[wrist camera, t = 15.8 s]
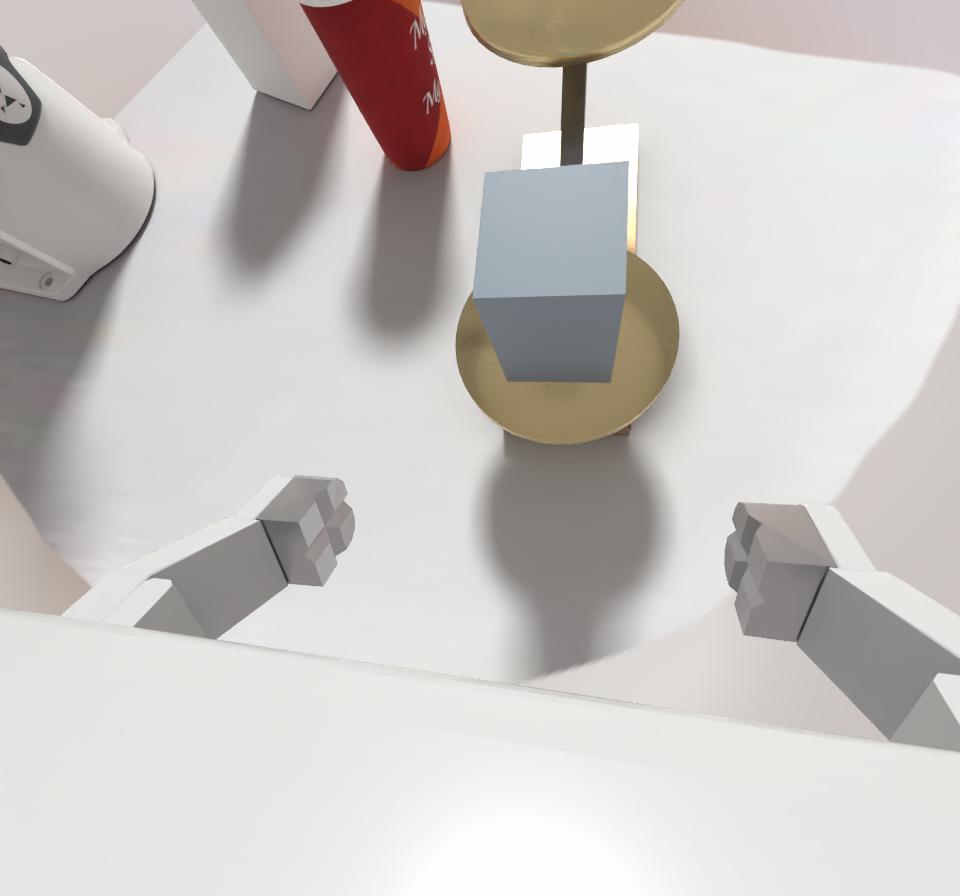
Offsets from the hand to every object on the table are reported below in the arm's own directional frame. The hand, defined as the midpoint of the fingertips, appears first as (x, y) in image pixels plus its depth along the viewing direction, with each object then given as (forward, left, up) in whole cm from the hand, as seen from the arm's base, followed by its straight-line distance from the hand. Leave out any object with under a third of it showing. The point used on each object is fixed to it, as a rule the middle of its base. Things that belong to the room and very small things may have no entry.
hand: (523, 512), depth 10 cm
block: (0, +10, -12) cm, 16 cm away
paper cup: (-13, +31, -20) cm, 39 cm away
